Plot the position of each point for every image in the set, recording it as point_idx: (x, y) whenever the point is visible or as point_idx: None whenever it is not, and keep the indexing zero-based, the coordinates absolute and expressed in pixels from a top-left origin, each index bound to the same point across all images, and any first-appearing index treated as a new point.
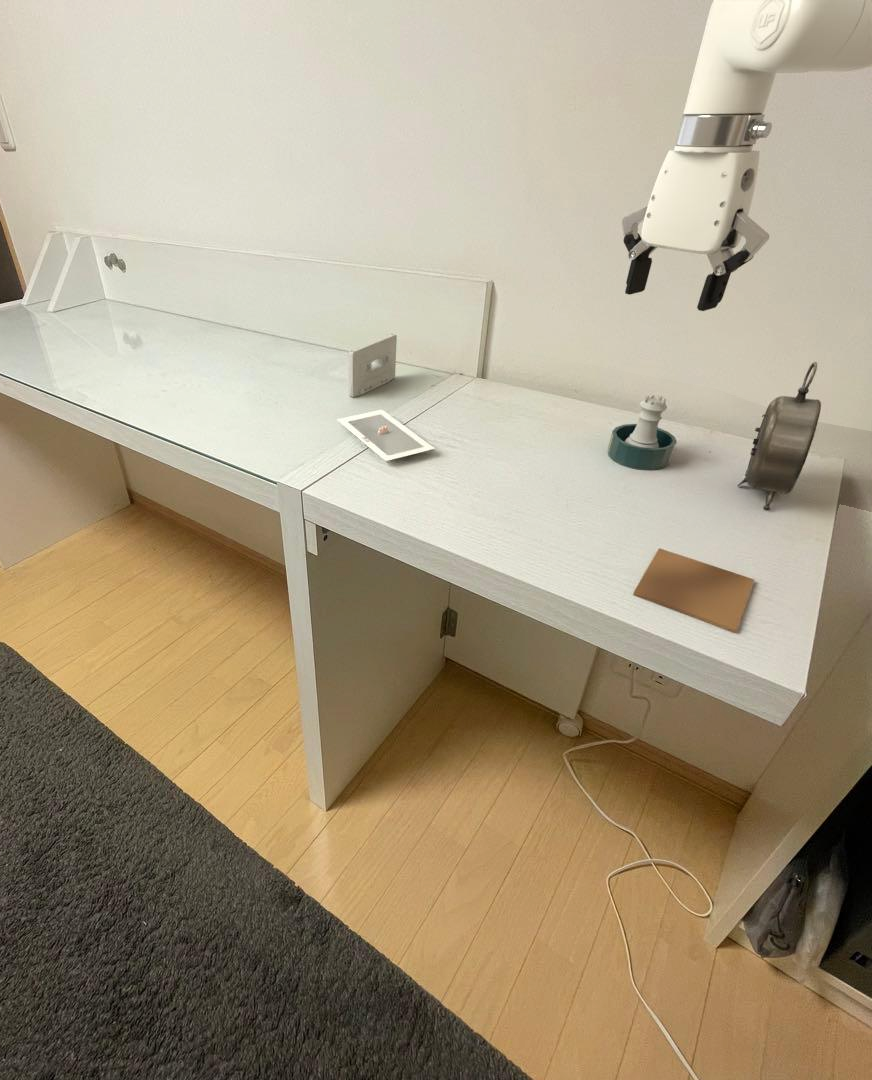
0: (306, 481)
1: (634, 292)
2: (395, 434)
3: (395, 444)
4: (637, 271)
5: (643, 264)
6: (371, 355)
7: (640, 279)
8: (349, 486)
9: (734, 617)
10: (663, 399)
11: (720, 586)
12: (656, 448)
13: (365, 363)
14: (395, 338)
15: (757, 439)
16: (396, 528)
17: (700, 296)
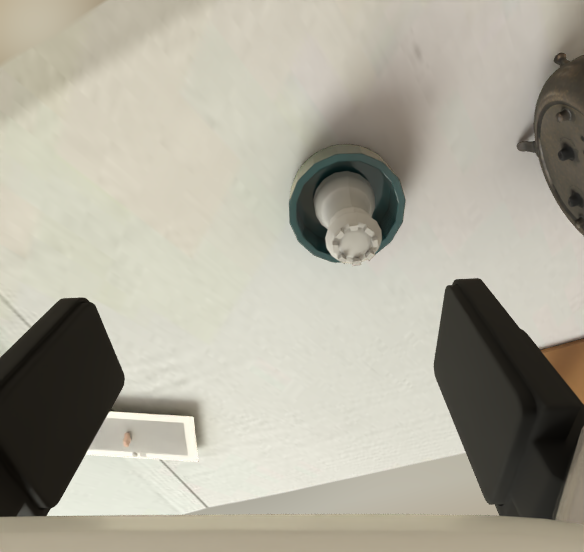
0: (193, 501)
1: (116, 361)
2: (137, 429)
3: (164, 440)
4: (73, 456)
5: (36, 460)
6: None
7: (81, 386)
8: (220, 484)
9: None
10: (368, 234)
11: (575, 368)
12: (390, 234)
13: None
14: None
15: (570, 157)
16: (306, 487)
17: (450, 412)
